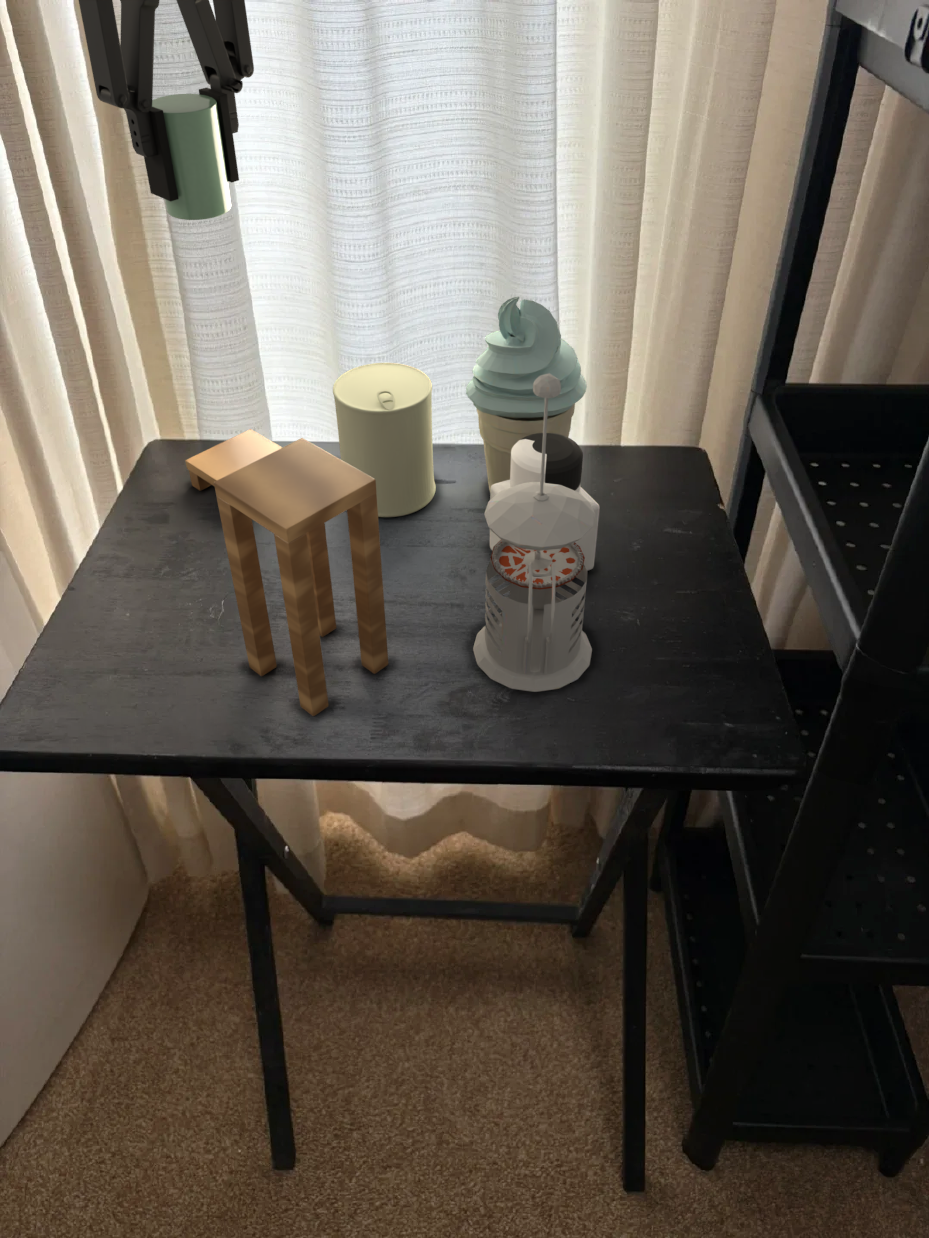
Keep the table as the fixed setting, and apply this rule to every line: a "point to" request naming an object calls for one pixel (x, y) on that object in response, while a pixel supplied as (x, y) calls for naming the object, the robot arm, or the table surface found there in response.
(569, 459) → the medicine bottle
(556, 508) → the french press
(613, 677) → the table surface
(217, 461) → the stand
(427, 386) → the can
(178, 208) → the green cylinder
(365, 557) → the front shelf
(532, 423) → the ice cream cone
